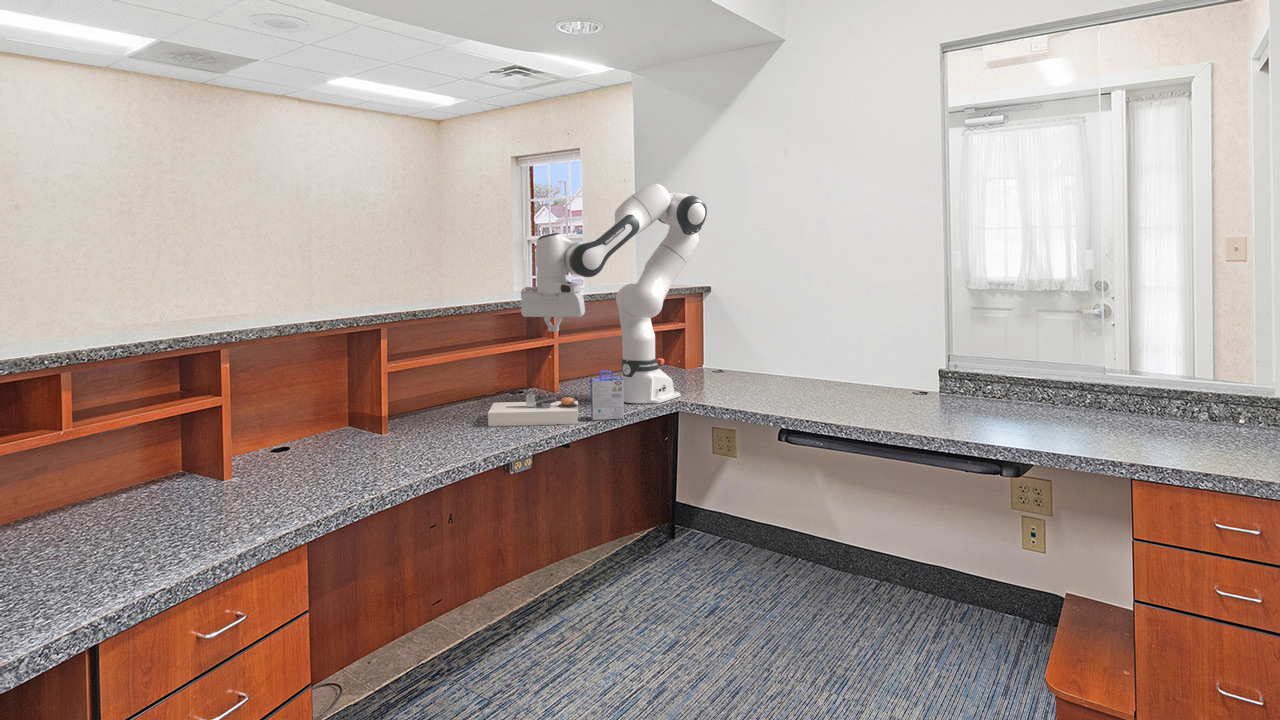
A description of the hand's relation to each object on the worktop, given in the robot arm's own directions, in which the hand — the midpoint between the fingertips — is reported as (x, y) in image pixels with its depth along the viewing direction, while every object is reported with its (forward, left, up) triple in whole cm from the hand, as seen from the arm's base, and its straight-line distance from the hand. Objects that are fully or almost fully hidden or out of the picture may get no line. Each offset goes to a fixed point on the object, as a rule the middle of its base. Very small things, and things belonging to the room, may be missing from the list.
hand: (553, 331), depth 224 cm
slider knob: (+12, +3, -21) cm, 24 cm away
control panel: (+11, +4, -26) cm, 28 cm away
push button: (+3, +10, -21) cm, 24 cm away
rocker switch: (+8, +6, -20) cm, 23 cm away
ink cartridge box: (-6, +18, -26) cm, 32 cm away
